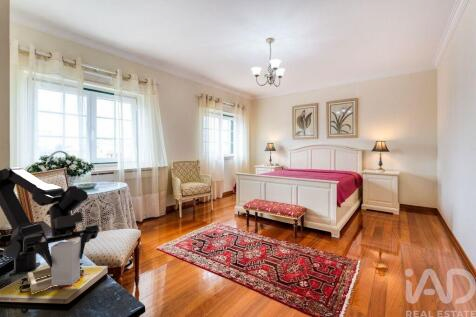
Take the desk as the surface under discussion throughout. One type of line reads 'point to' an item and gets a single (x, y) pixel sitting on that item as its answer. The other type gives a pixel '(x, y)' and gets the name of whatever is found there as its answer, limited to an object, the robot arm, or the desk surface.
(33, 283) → the socket holder
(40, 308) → the desk surface
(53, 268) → the skincare box
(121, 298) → the desk surface
